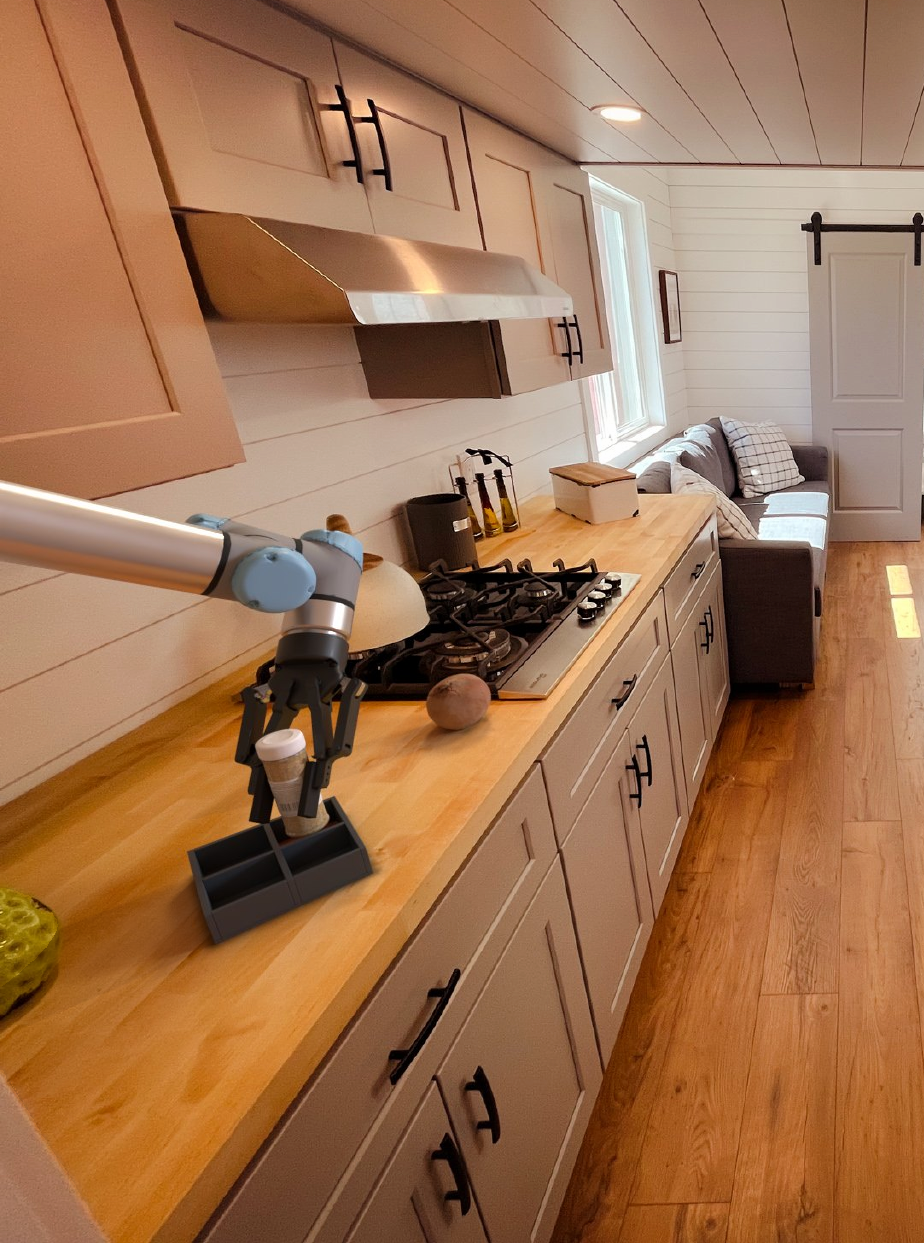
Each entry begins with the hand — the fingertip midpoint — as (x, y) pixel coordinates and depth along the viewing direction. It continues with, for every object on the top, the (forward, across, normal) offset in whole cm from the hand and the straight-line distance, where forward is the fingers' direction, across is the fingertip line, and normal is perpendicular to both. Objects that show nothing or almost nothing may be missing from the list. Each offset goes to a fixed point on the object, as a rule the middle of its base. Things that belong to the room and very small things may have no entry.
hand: (283, 819), depth 86 cm
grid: (+6, +1, -4) cm, 7 cm away
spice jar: (0, 0, -6) cm, 6 cm away
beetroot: (-18, -9, -29) cm, 35 cm away
